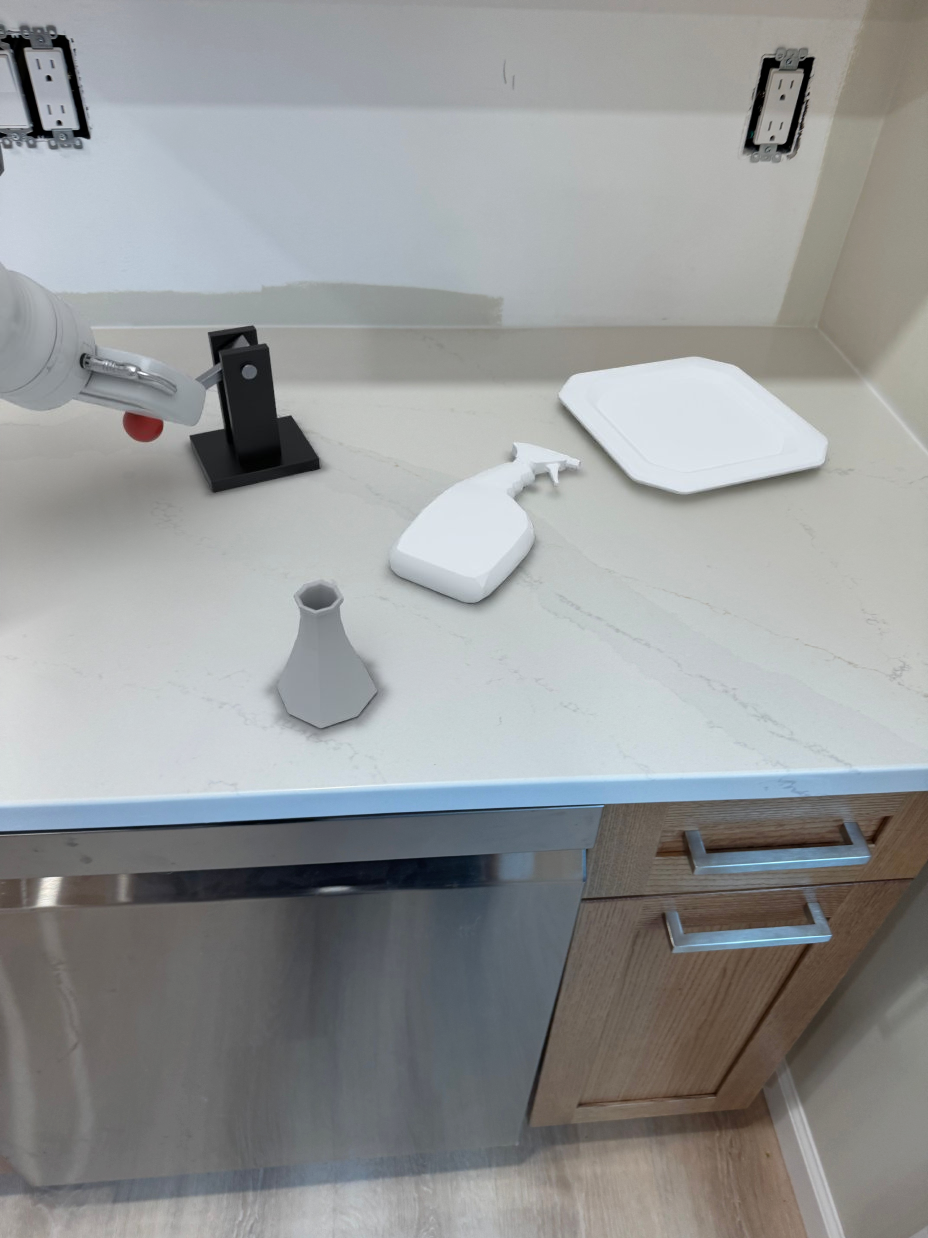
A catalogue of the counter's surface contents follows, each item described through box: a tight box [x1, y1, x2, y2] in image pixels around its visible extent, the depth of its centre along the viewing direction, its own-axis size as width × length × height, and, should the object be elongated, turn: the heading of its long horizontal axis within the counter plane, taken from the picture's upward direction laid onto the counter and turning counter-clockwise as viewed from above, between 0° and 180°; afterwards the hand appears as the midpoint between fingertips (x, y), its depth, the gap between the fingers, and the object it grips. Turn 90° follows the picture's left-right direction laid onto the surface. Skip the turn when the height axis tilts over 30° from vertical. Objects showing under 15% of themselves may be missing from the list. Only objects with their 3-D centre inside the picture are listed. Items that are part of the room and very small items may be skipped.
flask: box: [276, 579, 378, 729], centre depth 60 cm, size 7×7×10 cm
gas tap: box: [188, 324, 321, 493], centre depth 81 cm, size 11×9×13 cm
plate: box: [557, 355, 829, 496], centre depth 92 cm, size 25×25×2 cm
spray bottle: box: [388, 441, 582, 604], centre depth 79 cm, size 3×11×24 cm
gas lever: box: [122, 335, 250, 443], centre depth 77 cm, size 14×4×4 cm, turn 117°
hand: (133, 402), depth 75 cm, fingers closed
